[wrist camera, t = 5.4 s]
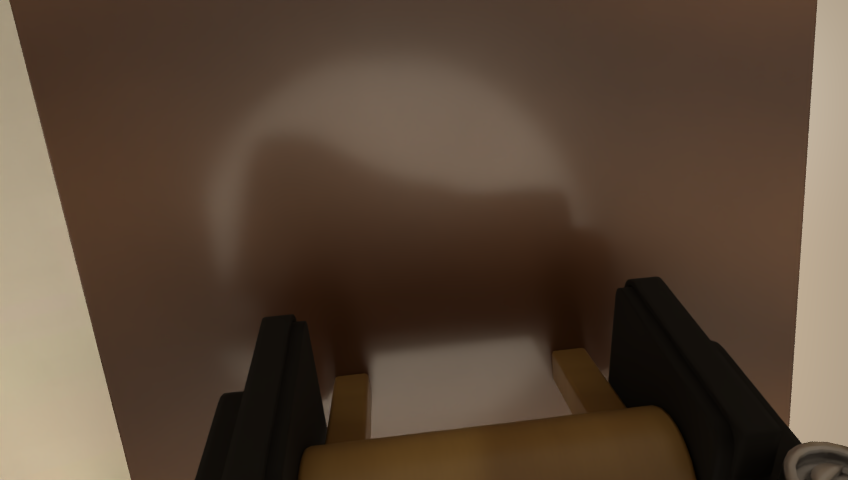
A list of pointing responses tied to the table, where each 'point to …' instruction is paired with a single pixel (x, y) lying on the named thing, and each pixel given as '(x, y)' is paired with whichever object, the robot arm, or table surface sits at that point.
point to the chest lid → (425, 213)
